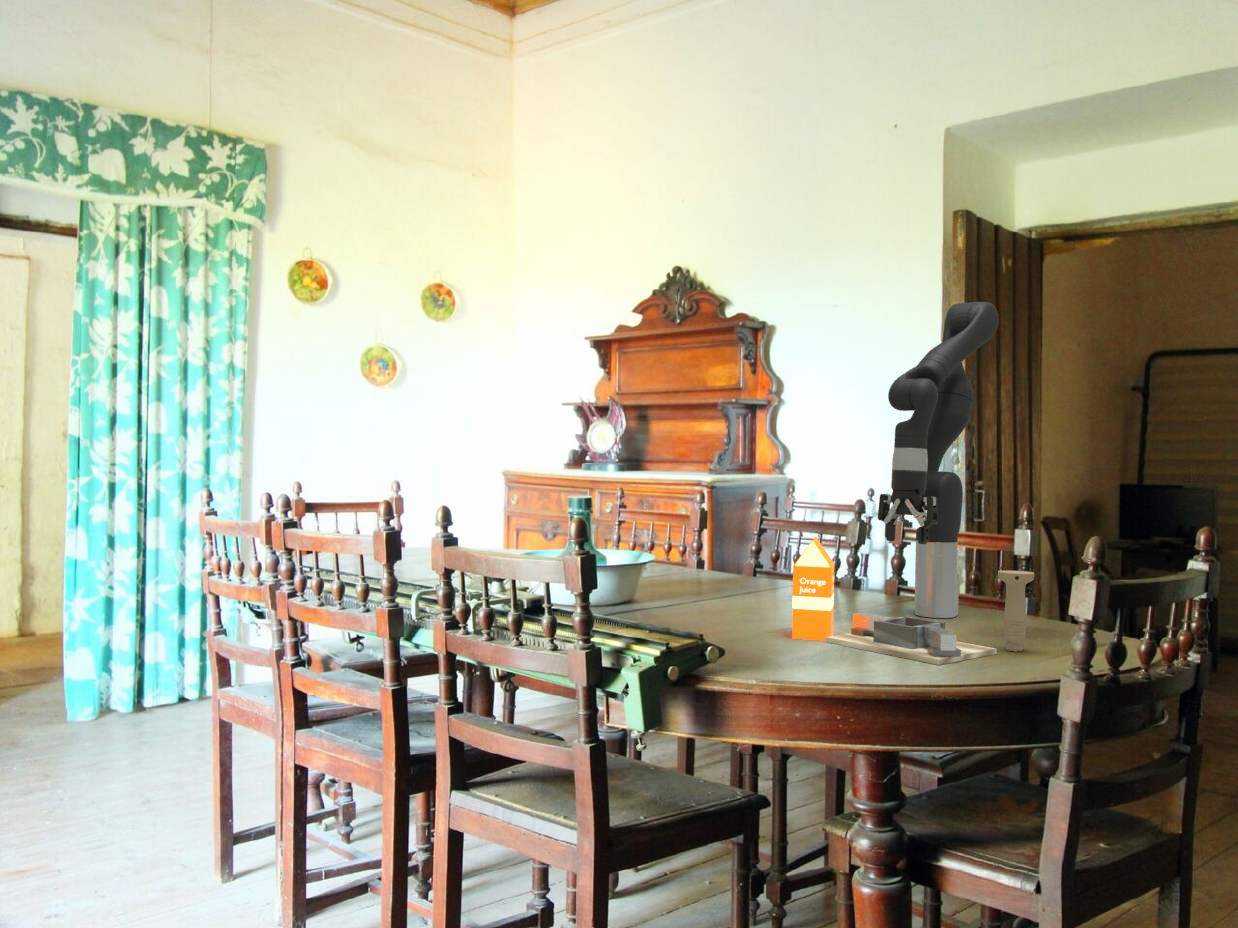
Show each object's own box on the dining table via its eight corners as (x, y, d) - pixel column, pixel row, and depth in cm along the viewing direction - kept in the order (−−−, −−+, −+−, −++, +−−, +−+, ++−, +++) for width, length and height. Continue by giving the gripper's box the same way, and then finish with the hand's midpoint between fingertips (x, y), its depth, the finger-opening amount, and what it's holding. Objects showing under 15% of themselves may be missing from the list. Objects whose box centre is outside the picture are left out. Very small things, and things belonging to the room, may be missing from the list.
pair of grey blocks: (865, 631, 210) (865, 611, 210) (979, 652, 189) (980, 631, 189) (832, 636, 203) (832, 616, 203) (947, 659, 183) (947, 636, 183)
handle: (995, 647, 200) (997, 569, 200) (1031, 649, 198) (1032, 571, 198) (997, 651, 196) (999, 572, 195) (1033, 654, 194) (1035, 574, 194)
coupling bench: (883, 632, 214) (884, 608, 214) (996, 653, 193) (997, 627, 193) (825, 641, 203) (826, 616, 203) (938, 665, 182) (939, 636, 182)
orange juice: (833, 633, 213) (835, 536, 212) (830, 640, 204) (832, 540, 204) (795, 631, 215) (797, 535, 215) (790, 638, 206) (792, 538, 206)
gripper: (947, 470, 225) (944, 545, 224) (893, 468, 236) (890, 539, 236) (926, 469, 220) (923, 545, 220) (872, 467, 231) (869, 539, 231)
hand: (906, 542), depth 228 cm, fingers open, 8 cm apart
